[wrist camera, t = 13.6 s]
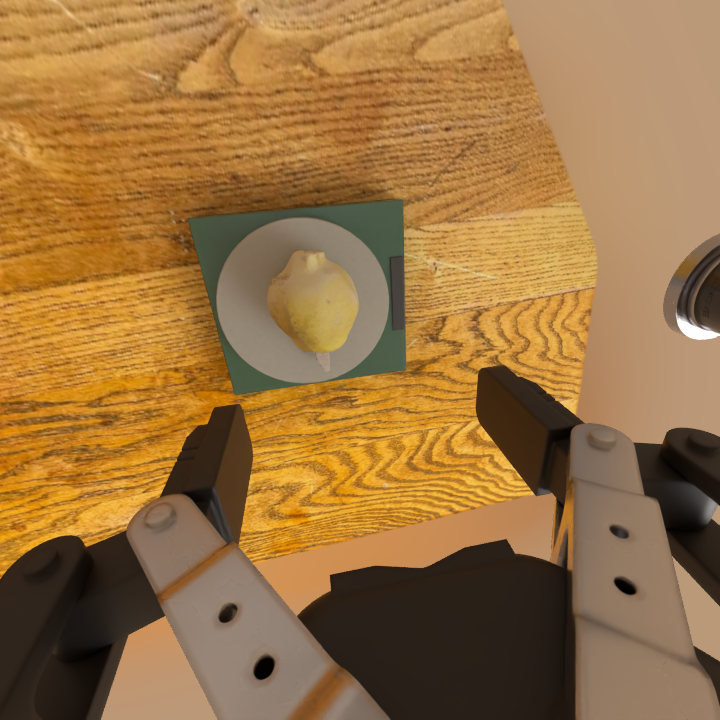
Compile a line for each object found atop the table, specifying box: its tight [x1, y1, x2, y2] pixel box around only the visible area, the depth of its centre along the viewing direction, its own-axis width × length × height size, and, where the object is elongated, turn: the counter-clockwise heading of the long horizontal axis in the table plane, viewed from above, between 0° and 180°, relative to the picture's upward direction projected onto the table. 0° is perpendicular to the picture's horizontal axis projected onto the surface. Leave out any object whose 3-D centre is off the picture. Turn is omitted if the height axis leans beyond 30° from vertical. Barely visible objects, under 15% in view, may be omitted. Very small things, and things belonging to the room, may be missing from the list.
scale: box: [188, 199, 406, 395], centre depth 29 cm, size 15×14×3 cm
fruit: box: [267, 250, 359, 372], centre depth 25 cm, size 6×6×10 cm
